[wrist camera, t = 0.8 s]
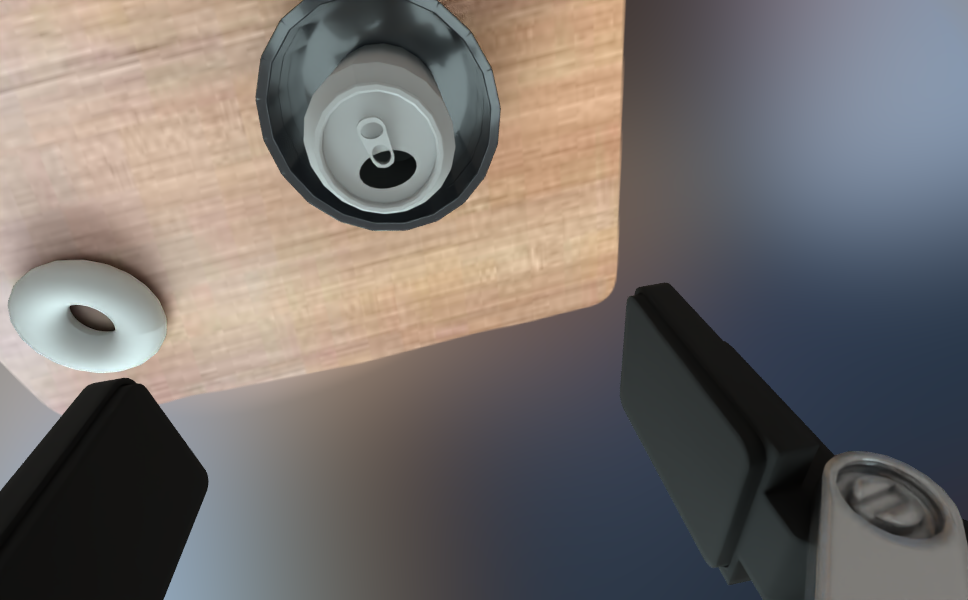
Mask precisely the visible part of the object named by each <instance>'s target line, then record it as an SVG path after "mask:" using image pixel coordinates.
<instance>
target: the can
mask: <svg viewBox="0 0 968 600" xmlns="http://www.w3.org/2000/svg"><path fill="white" fill-rule="evenodd" d="M304 145H305V148H306V152H307V155H308V158H309V162H310V165H311V167H312V168H313V170H314V171H315V173H316V174H317V176H318V177H319V179H320V180H321V182H322V183H323V185H324V186H325V187H326V188H327V189H328V190H330V191H331V192H332V193H333V194H334V195H335V196H337V197H338V198H339V199H340V200H341V201H343V202H345V203H347V204H349V205H352V206H354V207H356V208H358V209H360V210H363V211H368V212H375V213H382V214H389V213H396V212H403V211H407V210H410V209H412V208H414V207H416V206H418V205H420V204H422V203H424V202H426V201H427V200H428V199H429V198H430V197H431V196H432V195H433V194H435V193H436V192H437V191H438V190H439V189H440V188H441V186H442V185H443V183H444V181H445V179H446V177H447V175H448V174H449V172H450V170H451V167H452V162H453V157H454V151H455V139H454V131H453V123H452V121H451V118H450V116H449V113H448V111H447V108H446V106H445V103H444V101H443V98H442V96H441V93H440V91H439V89H438V86H437V84H436V82H435V80H434V77H433V75H432V73H431V72H430V71H429V69H428V68H427V67H426V66H425V65H424V64H423V62H422V61H421V60H420V59H419V58H418V57H416V56H415V55H413V54H411V53H410V52H408V51H407V50H405V49H403V48H401V47H397V46H393V45H389V44H384V43H381V44H372V45H364V46H362V47H360V48H358V49H357V50H355V51H353V52H351V53H349V54H348V55H347V56H346V57H345V58H344V59H343V60H342V61H341V62H340V64H339V65H338V66H337V67H336V68H335V69H334V70H333V72H332V73H331V74H330V75H329V76H328V78H327V79H326V80H325V81H324V82H323V83H322V85H321V86H320V87H319V88H318V89H317V91H316V92H315V93H314V94H313V96H312V99H311V101H310V104H309V106H308V109H307V112H306V114H305V117H304Z"/></svg>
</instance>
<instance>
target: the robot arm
mask: <svg viewBox="0 0 968 600" xmlns="http://www.w3.org/2000/svg"><path fill="white" fill-rule="evenodd" d="M620 398H621V403H622V406H623V408H624V411H625V412H626V414H627V416H628V418H629V420H630V422H631V424H632V426H633V428H634V429H635V431H636V433H637V435H638V437H639V439H640V440H641V442H642V444H643V446H644V448H645V450H646V451H647V454H648V455H649V457H650V459H651V461H652V463H653V465H654V467H655V468H656V470H657V472H658V474H659V476H660V478H661V480H662V481H663V483H664V485H665V487H666V489H667V491H668V493H669V495H670V497H671V498H672V500H673V502H674V504H675V506H676V508H677V509H678V511H679V513H680V515H681V517H682V519H683V521H684V523H685V524H686V526H687V528H688V530H689V532H690V534H691V536H692V538H693V539H694V541H695V543H696V545H697V547H698V549H699V550H700V552H701V554H702V556H703V558H704V559H705V561H706V562H707V563H708V565H709V566H710V567H712V568H716V567H719V569H720V571H721V573H722V575H723V576H724V578H725V580H726V582H727V584H728V585H732V584H736V583H741V582H745V581H750V580H752V582H753V584H754V585H755V587H756V589H757V590H758V592H759V594H760V595H761V597H762V599H763V600H968V521H966V520H964V519H961V516H960V514H959V511H958V509H957V507H956V505H955V504H954V502H953V501H952V500H951V499H950V497H949V496H948V495H947V494H946V492H945V491H944V490H943V489H942V488H941V487H940V486H938V485H937V484H936V483H935V482H934V481H932V480H931V479H930V478H929V477H927V476H926V475H925V474H923V473H921V472H920V471H918V470H916V469H914V468H913V467H911V466H909V465H908V464H906V463H903V462H901V461H898V460H896V459H893V458H891V457H888V456H886V455H881V454H876V453H871V452H867V451H848V452H845V453H841V454H838V455H834V454H833V453H832V452H831V451H830V450H829V449H828V448H827V447H826V446H825V445H824V444H823V443H822V442H821V441H820V439H819V438H818V437H817V436H816V435H815V434H814V433H813V432H812V431H811V430H810V429H809V428H808V427H807V426H806V425H805V424H804V422H803V421H802V420H801V419H800V418H799V417H798V416H797V415H796V414H795V413H794V412H793V411H792V410H791V409H790V408H789V407H788V406H787V404H786V403H785V402H784V401H783V400H782V399H781V398H780V397H779V396H778V395H777V394H776V393H775V392H774V391H773V390H772V389H771V388H770V386H769V385H768V384H767V383H766V382H765V381H764V380H763V379H762V378H761V377H760V376H759V375H758V374H757V373H756V372H755V371H754V369H752V367H751V366H750V365H749V364H748V363H747V362H746V361H745V360H744V359H743V358H742V357H741V356H740V355H739V354H738V353H737V352H736V350H735V349H734V348H733V347H732V346H730V345H729V344H728V343H726V342H725V341H723V340H722V339H721V338H720V337H719V336H718V335H717V334H716V333H715V332H714V331H713V330H712V328H711V327H710V326H709V325H708V324H707V323H706V322H705V321H704V320H703V319H702V318H701V317H700V316H699V315H698V313H697V312H696V311H695V310H694V309H693V308H692V307H691V306H690V305H689V304H688V303H687V302H686V301H685V300H684V299H683V297H682V296H681V295H680V294H679V293H678V292H677V291H676V290H675V289H674V288H673V287H672V286H671V285H670V284H669V283H660V284H654V285H648V286H643V287H639V288H637V289H636V291H635V295H634V296H630V297H629V298H628V299H627V306H626V320H625V332H624V345H623V358H622V371H621V385H620ZM207 488H208V475H207V472H206V470H205V469H204V468H203V466H202V465H201V463H200V462H199V460H198V459H197V458H196V456H195V455H194V454H193V452H192V451H191V449H190V448H189V447H188V445H187V444H186V442H185V441H184V440H183V438H182V437H181V435H180V434H179V433H178V431H177V430H176V429H175V427H174V426H173V424H172V423H171V422H170V420H169V419H168V417H167V416H166V415H165V413H164V412H163V410H162V409H161V408H160V406H159V405H158V404H157V402H156V401H155V399H154V398H153V397H152V395H151V394H150V392H149V391H148V390H147V388H146V387H145V386H144V385H142V384H137V383H136V382H135V381H134V380H131V379H129V378H120V379H115V380H109V381H103V382H98V383H93V384H90V385H88V386H87V387H86V388H85V389H83V391H82V392H81V393H80V394H79V395H78V397H77V398H76V399H75V400H74V402H73V403H72V404H71V405H70V406H69V408H68V409H67V410H66V411H65V413H64V414H63V415H62V416H61V417H60V419H59V420H58V421H57V422H56V424H55V425H54V426H53V427H52V429H51V430H50V431H49V432H48V434H47V435H46V436H45V437H44V438H43V440H42V441H41V442H40V443H39V444H38V446H37V447H36V448H35V449H34V451H33V452H32V453H31V454H30V455H29V457H28V458H27V459H26V460H25V462H24V463H23V464H22V465H21V467H20V468H19V469H18V470H17V471H16V473H15V474H14V475H13V476H12V477H11V479H10V480H9V481H8V482H7V484H6V485H5V486H4V487H3V488H2V490H1V491H0V600H163V599H164V597H165V594H166V592H167V589H168V587H169V584H170V582H171V579H172V577H173V574H174V572H175V569H176V567H177V564H178V562H179V559H180V556H181V554H182V552H183V549H184V547H185V544H186V542H187V539H188V537H189V534H190V532H191V529H192V527H193V524H194V522H195V519H196V517H197V514H198V511H199V509H200V506H201V504H202V502H203V499H204V497H205V494H206V492H207Z"/></svg>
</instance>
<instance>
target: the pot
mask: <svg viewBox="0 0 968 600" xmlns="http://www.w3.org/2000/svg"><path fill="white" fill-rule="evenodd" d="M381 43H384V44H389V45H393V46H397V47H401V48H403V49H405V50H407V51H408V52H410V53H411V54H413V55H415V56H416V57H418V58H419V59H420V60H421V61H422V62H423V64H424V65H425V66H426V67H427V68H428V69H429V71H430V72H431V73H432V75H433V77H434V80H435V82H436V84H437V86H438V89H439V91H440V93H441V96H442V98H443V101H444V103H445V106H446V108H447V111H448V113H449V116H450V118H451V121H452V123H453V131H454V139H455V151H454V157H453V162H452V167H451V170H450V172H449V174H448V175H447V177H446V179H445V181H444V183H443V185H442V186H441V188H440V189H439V190H438V191H437V192H436V193H435V194H433V195H432V196H431V197H430V198H429V199H428V200H427V201H426V202H424V203H422V204H420V205H418V206H416V207H414V208H412V209H410V210H407V211H403V212H396V213H389V214H382V213H375V212H368V211H363V210H360V209H358V208H356V207H354V206H352V205H349V204H347V203H345V202H343V201H341V200H340V199H339V198H338V197H337V196H335V195H334V194H333V193H332V192H331V191H330V190H328V189H327V188H326V187H325V186H324V185H323V183H322V182H321V180H320V179H319V177H318V176H317V174H316V173H315V171H314V170H313V168H312V167H311V165H310V162H309V158H308V155H307V152H306V148H305V145H304V117H305V114H306V112H307V109H308V106H309V104H310V101H311V99H312V96H313V94H314V93H315V92H316V91H317V89H318V88H319V87H320V86H321V85H322V83H323V82H324V81H325V80H326V79H327V78H328V76H329V75H330V74H331V73H332V72H333V70H334V69H335V68H336V67H337V66H338V65H339V64H340V62H341V61H342V60H343V59H344V58H345V57H346V56H347V55H348V54H349V53H351V52H353V51H355V50H357V49H358V48H360V47H362V46H364V45H372V44H381ZM256 105H257V110H258V115H259V120H260V125H261V131H262V136H263V139H264V142H265V144H266V146H267V148H268V150H269V151H270V153H271V155H272V157H273V159H274V161H275V163H276V165H277V167H278V169H279V170H280V172H281V174H282V175H283V176H284V178H285V179H286V180H287V181H288V182H289V183H290V184H291V185H292V186H293V187H294V188H295V189H296V190H297V191H298V192H299V193H300V194H301V195H302V196H303V198H304V199H305V200H306V201H307V202H309V203H310V204H311V205H313V206H315V207H316V208H318V209H320V210H321V211H323V212H325V213H326V214H328V215H330V216H331V217H333V218H335V219H336V220H338V221H340V222H343V223H347V224H350V225H354V226H357V227H361V228H365V229H368V230H372V231H405V230H410V229H413V228H416V227H420V226H423V225H426V224H429V223H433V222H436V221H438V220H440V219H441V218H443V217H444V216H446V215H447V214H449V213H450V212H452V211H453V210H455V209H456V208H458V207H459V206H461V205H462V204H463V203H464V202H465V201H466V200H467V199H468V198H469V196H470V195H471V194H472V193H473V191H474V190H475V189H476V188H477V186H478V185H479V184H480V183H481V181H482V180H483V179H484V177H485V176H486V173H487V171H488V168H489V166H490V163H491V161H492V158H493V155H494V153H495V150H496V148H497V145H498V136H499V123H500V110H501V108H500V102H499V98H498V93H497V89H496V84H495V80H494V75H493V71H492V69H491V66H490V64H489V62H488V60H487V59H486V57H485V55H484V53H483V52H482V50H481V48H480V46H479V44H478V43H477V41H476V39H475V37H474V35H473V34H472V32H471V31H470V30H469V29H468V28H467V27H466V26H465V25H464V24H463V23H462V22H461V21H460V20H459V19H457V18H456V17H455V16H454V15H453V14H452V13H451V12H450V11H449V10H448V9H447V8H446V7H445V6H444V5H443V4H442V3H440V2H439V1H438V0H303V1H302V2H301V3H299V4H298V5H297V6H296V7H295V8H293V9H292V10H291V11H290V12H289V13H288V14H286V15H285V16H284V17H283V18H282V19H281V20H280V21H279V23H278V25H277V27H276V29H275V31H274V33H273V35H272V36H271V38H270V40H269V42H268V44H267V46H266V48H265V50H264V52H263V54H262V55H261V59H260V66H259V74H258V82H257V89H256Z"/></svg>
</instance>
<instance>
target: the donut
mask: <svg viewBox="0 0 968 600" xmlns="http://www.w3.org/2000/svg"><path fill="white" fill-rule="evenodd" d="M71 305H84V306H89V307H92V308H94V309H97V310H99V311H100V312H102V313H103V314H105V315H106V316H107V317H108V318H109V319H110V320H111V321H112V322H113V324H114V326H115V331H108V332H104V331H98V330H94V329H91V328H89V327H87V326H85V325H83V324H82V323H80V322H79V321H78V320H77V319H76V318H75V317H74V316H73V315H72V313H71V311H70V308H69V307H70V306H71ZM8 309H9V315H10V321H11V323H12V325H13V326H14V328H15V329H16V331H17V332H18V334H19V336H20V337H21V338H22V340H23V341H25V342H26V343H27V344H28V345H29V346H30V347H31V348H33V349H34V350H35V351H36V352H37V353H39V354H40V355H42V356H44V357H46V358H48V359H50V360H51V361H53V362H55V363H57V364H60V365H63V366H66V367H69V368H72V369H75V370H82V371H89V372H96V373H105V372H120V371H123V370H126V369H129V368H132V367H135V366H138V365H141V364H143V363H144V362H145V361H147V360H148V359H149V358H151V357H152V356H153V355H155V354H156V353H157V352H158V350H159V348H160V347H161V345H162V343H163V341H164V339H165V337H166V331H167V319H166V315H165V313H164V310H163V308H162V306H161V303H160V301H159V300H158V299H157V297H156V296H155V295H154V294H153V293H152V291H151V290H150V289H149V288H148V287H147V286H146V285H144V284H143V283H142V282H140V281H139V280H137V279H136V278H135V277H133V276H132V275H130V274H129V273H126V272H124V271H122V270H119V269H117V268H115V267H113V266H110V265H108V264H103V263H98V262H93V261H88V260H60V261H53V262H50V263H47V264H44V265H41V266H38V267H36V268H34V269H31V270H30V271H29V272H28V273H26V274H25V275H24V276H23V277H22V278H21V279H20V280H18V281H17V282H16V284H15V285H14V286H13V289H12V292H11V295H10V298H9V300H8Z"/></svg>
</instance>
